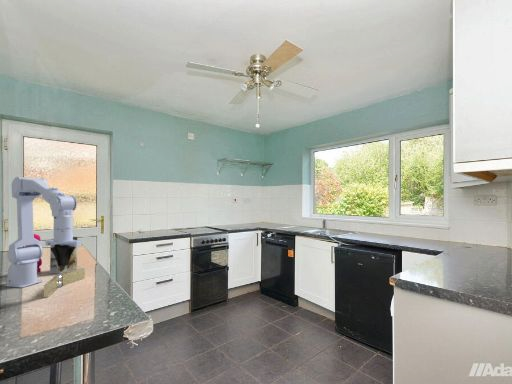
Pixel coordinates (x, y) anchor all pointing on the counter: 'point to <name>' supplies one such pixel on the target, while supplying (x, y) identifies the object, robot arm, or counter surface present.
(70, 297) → the counter surface
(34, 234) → the pepper mill
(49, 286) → the swing leaf
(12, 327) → the counter surface
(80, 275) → the hinge base
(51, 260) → the coffee box
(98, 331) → the counter surface
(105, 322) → the counter surface
